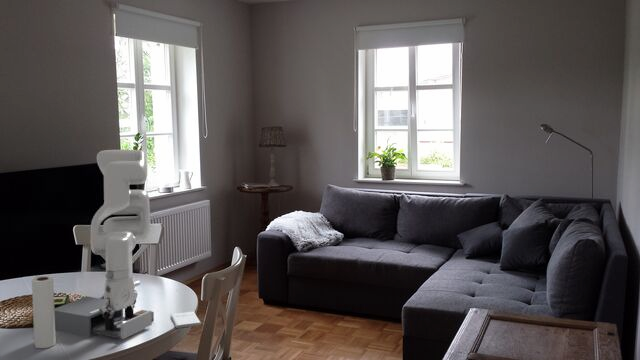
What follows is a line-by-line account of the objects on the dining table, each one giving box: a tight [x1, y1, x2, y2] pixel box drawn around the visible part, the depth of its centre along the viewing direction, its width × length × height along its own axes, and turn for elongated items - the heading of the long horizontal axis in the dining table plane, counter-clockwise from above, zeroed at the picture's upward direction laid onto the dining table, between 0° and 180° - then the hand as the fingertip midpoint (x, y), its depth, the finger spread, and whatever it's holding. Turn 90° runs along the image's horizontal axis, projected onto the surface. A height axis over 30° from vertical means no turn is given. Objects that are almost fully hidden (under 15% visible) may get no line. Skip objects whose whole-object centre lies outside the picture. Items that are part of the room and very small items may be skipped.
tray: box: [91, 310, 153, 340], centre depth 197 cm, size 14×17×5 cm
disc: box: [114, 318, 130, 330], centre depth 196 cm, size 7×7×2 cm
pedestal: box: [133, 309, 155, 323], centre depth 205 cm, size 5×5×4 cm
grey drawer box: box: [54, 296, 124, 338], centre depth 201 cm, size 16×16×7 cm
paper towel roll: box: [31, 275, 57, 349], centre depth 184 cm, size 7×6×21 cm
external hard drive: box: [170, 311, 202, 329], centre depth 208 cm, size 2×8×12 cm
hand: (119, 324), depth 196 cm, fingers open, 9 cm apart
